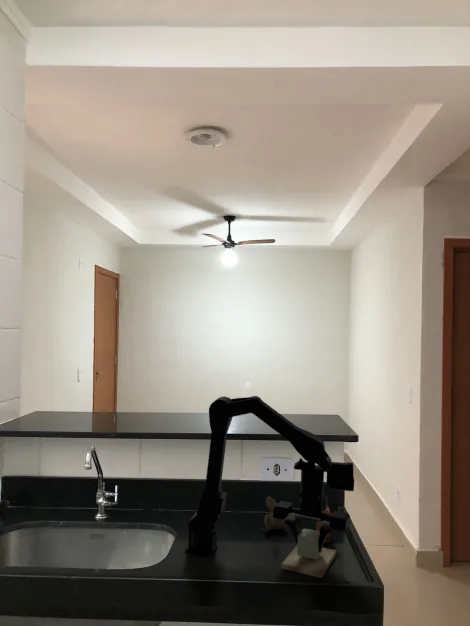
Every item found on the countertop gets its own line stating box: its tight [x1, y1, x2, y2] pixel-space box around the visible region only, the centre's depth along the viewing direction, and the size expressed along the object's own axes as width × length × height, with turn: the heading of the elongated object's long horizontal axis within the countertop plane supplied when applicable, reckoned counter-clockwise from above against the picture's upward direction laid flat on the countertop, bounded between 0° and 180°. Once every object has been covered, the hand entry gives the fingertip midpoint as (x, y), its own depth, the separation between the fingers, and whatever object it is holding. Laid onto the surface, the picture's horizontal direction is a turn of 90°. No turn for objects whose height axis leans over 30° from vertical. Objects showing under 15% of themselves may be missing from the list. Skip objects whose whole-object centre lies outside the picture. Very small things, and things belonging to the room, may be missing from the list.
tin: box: [314, 504, 333, 544], centre depth 151 cm, size 15×3×8 cm, turn 178°
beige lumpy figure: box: [263, 496, 288, 531], centre depth 156 cm, size 9×6×10 cm
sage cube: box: [296, 528, 322, 560], centre depth 135 cm, size 5×5×5 cm
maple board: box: [281, 544, 337, 579], centre depth 135 cm, size 10×14×1 cm
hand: (309, 549), depth 135 cm, fingers closed on sage cube, 5 cm apart
